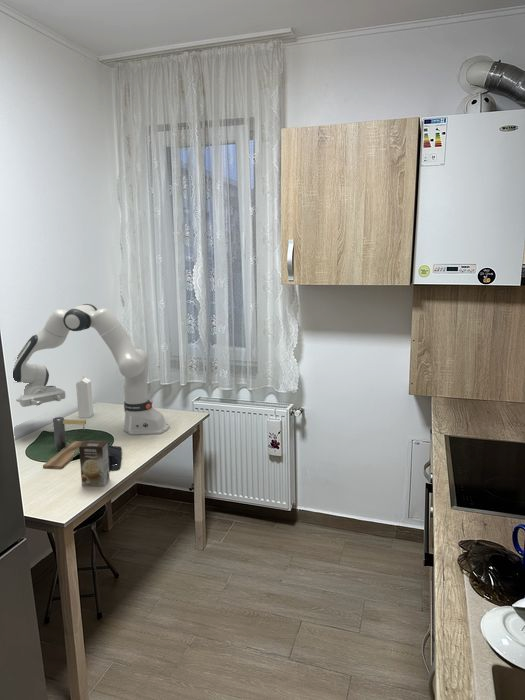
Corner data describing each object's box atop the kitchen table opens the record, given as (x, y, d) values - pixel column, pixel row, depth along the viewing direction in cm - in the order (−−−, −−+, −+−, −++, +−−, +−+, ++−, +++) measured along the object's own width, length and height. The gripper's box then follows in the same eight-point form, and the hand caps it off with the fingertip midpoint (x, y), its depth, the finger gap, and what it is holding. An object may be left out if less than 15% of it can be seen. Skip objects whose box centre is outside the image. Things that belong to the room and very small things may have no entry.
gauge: (89, 447, 224) (87, 418, 221) (85, 451, 219) (82, 421, 216) (58, 446, 225) (56, 416, 222) (53, 450, 220) (50, 420, 218)
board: (89, 444, 227) (89, 441, 227) (61, 468, 202) (61, 465, 202) (73, 443, 228) (72, 440, 228) (43, 468, 203) (42, 465, 202)
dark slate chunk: (127, 450, 221) (126, 440, 220) (119, 472, 200) (118, 461, 199) (92, 452, 219) (91, 442, 218) (79, 474, 198) (79, 463, 197)
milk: (78, 417, 262) (75, 377, 258) (82, 414, 268) (79, 374, 264) (90, 417, 262) (86, 377, 258) (93, 413, 268) (90, 374, 264)
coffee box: (80, 486, 187) (77, 446, 184) (87, 478, 194) (84, 439, 190) (104, 486, 187) (102, 446, 184) (110, 478, 193) (107, 440, 190)
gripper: (14, 392, 232) (24, 399, 222) (57, 384, 246) (69, 390, 236) (15, 405, 233) (26, 412, 223) (58, 397, 247) (70, 403, 237)
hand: (48, 401), depth 230 cm, fingers open, 8 cm apart
